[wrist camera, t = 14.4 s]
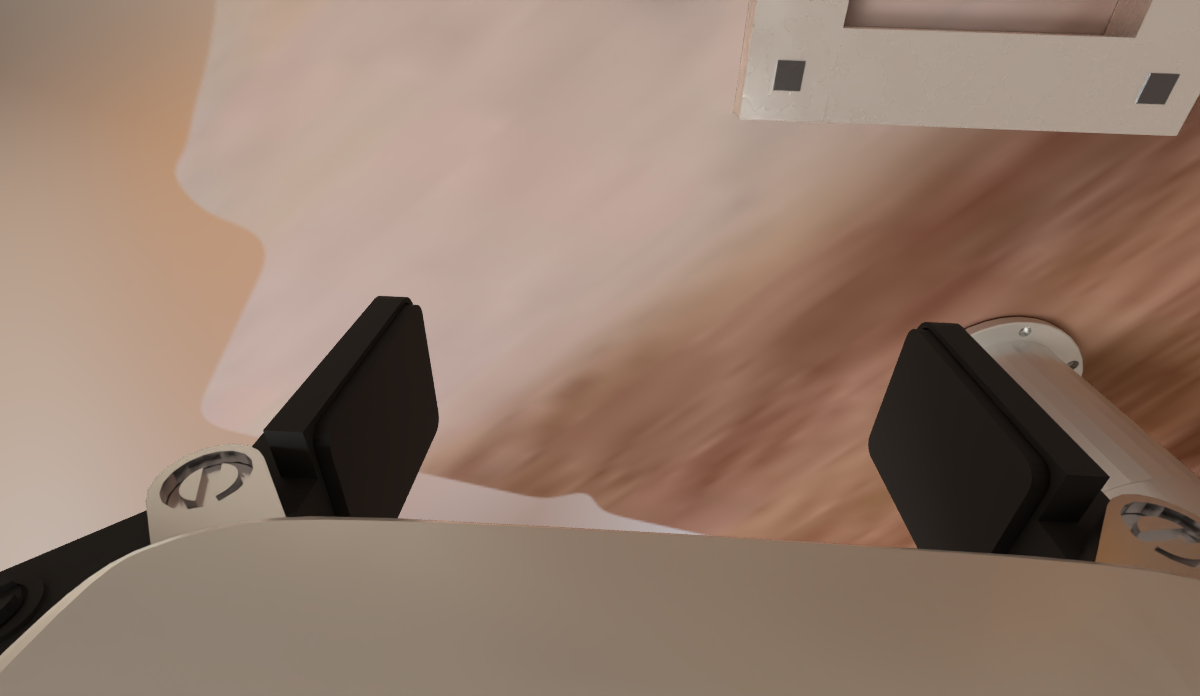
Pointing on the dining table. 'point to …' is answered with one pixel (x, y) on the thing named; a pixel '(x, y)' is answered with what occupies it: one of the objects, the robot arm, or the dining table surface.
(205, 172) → the dining table surface
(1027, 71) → the plate
